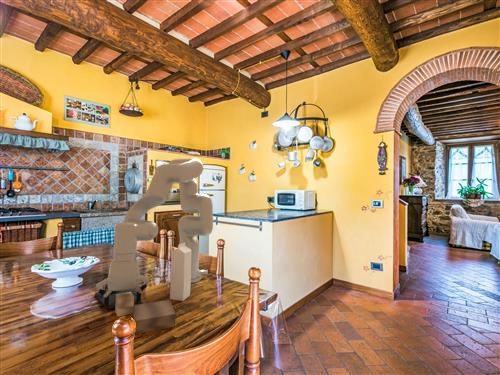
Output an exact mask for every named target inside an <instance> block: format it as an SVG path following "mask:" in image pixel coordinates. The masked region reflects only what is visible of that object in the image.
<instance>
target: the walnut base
mask: <svg viewBox="0 0 500 375" xmlns="http://www.w3.org/2000/svg"><path fill="white" fill-rule="evenodd" d="M176 315H177V314H176V311H175V309H174V306H173V305H172V302H171V299H166V300H159V301H151V302H145V303H142V304H138V305H133V313H132V319H133V318H134V320H135V322H136V332H135V334H134V335H139V334H143V333H144V334H145V333H149V332H153V331H159V330H160V331H161V330H163V329H164V330H165V329H169V328H175V327H176Z"/></svg>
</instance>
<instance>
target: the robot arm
mask: <svg viewBox="0 0 500 375" xmlns="http://www.w3.org/2000/svg"><path fill="white" fill-rule="evenodd" d="M203 171H204V165H203V162H202V161H201V160H200V159H198V158H176V159H171V160H169V162H168V163H165V164H160V165H158V167H156V169H155V172H154V173H153V177H152V178H151V181H150V182H149V185H148V188H147V189H146V192H145V193H144V195H143V196H141V197H140V198H139V199H138V200H137V201H135V202H134V204H132V205H131V207H130V208H129V209H128V211H127V212H126V214H125V217H124V219H123V221H121V222H117V223H116V224H115V225H114V239H113V259H112V260H111V261H110V264H109V270H108V276H107V278H104V279H103V280H101V281H100V282H98V283H96V284H95V288H96V291H97V292H99V293H100V294H101V295H103V297H104V305H103V307H105V306H106V307H105V310H109V309H108V308H109V294H110V293H111V292H112V291H120V290H128V289H135V290H136V291H137V297H136V304H137V305H138V304H139V301H142V293H143V292H144V291H145V289H147V286H148V285H149V284H150V280H151V279H150V278H149V277H147V276H145V275H141V274H140V261H139V257H141V256H142V252H139V251H137V249H138V242H139V241H152V240H154V239H155V238H156V237H157V236H158V234H159V226H158V224H156V223H155V222H153V220H144V219H143V220H142V218H143V216H144V215H145V214H146V213H148V211H151V210H153V209H154V208H156V207H158V206H161V205H162V204H164V203H166V201H167V199H168V197H169V194H170V192H171V190H172V187H173V185H174V184H177V185H178V184H179V193H180V194H179V197H180V198H179V199H180V201H179V202H180V209H181V211H182V212H184V213H188V214H189V215H184V216H181V218H179V219H178V223H177V227H178V228H177V229H178V233H179V244H182V243H184V242H185V243H186V246H187V247H188V248H189V249H191V250H192V253H191V284H192V283H197V282H200V281H201V279H202V275H208V273H209V271H208V269H200V267H199V265H200V264H199V263H200V242H199V239H198V236H202V237H207V236H210V235H211V234H212V232H213V229H214V208H213V200H212V198H211V197H210V196H209V195H208V194H205V193H199V192H198V190H199V189H198V183H197V180H196V178H197V179H198V177H200V176H201V175H202V173H203ZM191 214H199V215H191ZM140 281H143V284H142V285H141V286H140ZM107 283H108V289H107V290H106V291H105V288H103V287H102V286H104V285H107Z"/></svg>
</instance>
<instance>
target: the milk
mask: <svg viewBox="0 0 500 375" xmlns="http://www.w3.org/2000/svg"><path fill="white" fill-rule="evenodd" d="M191 253H192V250H191V249H189V248H188V247H187V246H186V243H185V242H184V243H182V244H180V243H179V244H178V245H177V249H175V250H173V251H171V258H170V259H171V262H170V285H169V286H170V287H169V288H170V292H169V295H170V296H169V300H174V301H182V302H184V301H185V300H186V299H187V298H189V297H190V296H191V284H192V283H191Z"/></svg>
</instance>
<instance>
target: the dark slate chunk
mask: <svg viewBox="0 0 500 375" xmlns="http://www.w3.org/2000/svg"><path fill="white" fill-rule="evenodd" d="M107 289H108V283H106V284H105V286H104V290H105V291H106V290H107ZM126 292H132V294H133V295H134V305H137V304H136V297H137V290H136V289H128V290H120V291H112V292H111V293H110V294H109V308H108V309H107V310H111V309H115V304H116V294H121V293H126ZM94 295H95V296H96V298H97V300H98V301H99V302H100V303H101V304H103V306H104V297H103V295H101V294H100V293H99V291H97V292H95V293H94ZM139 304H143V301H142V300H141V301H139ZM104 307H105V308H106V306H104Z"/></svg>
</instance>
